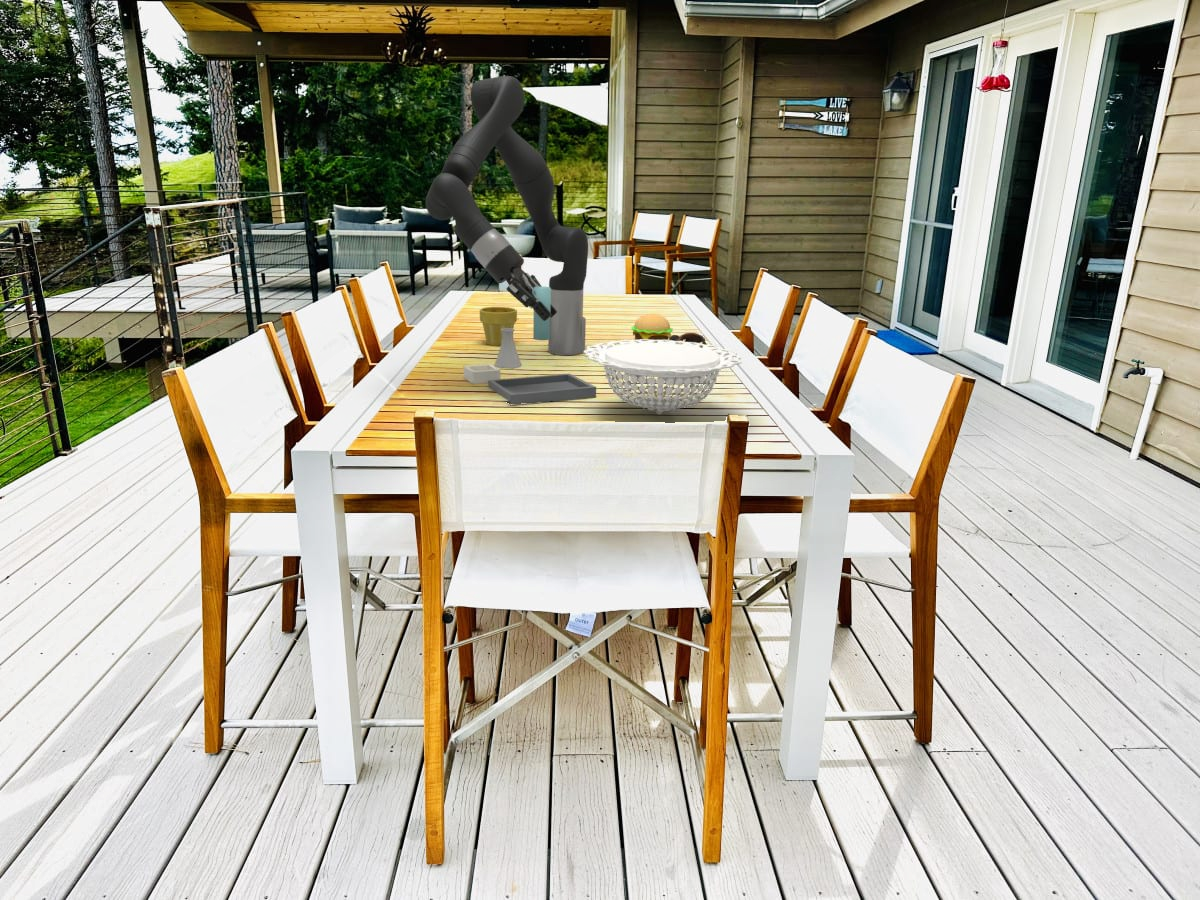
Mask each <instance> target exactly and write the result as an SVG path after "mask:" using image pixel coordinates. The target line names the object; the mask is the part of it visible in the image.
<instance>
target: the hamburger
mask: <svg viewBox="0 0 1200 900" xmlns="http://www.w3.org/2000/svg"><path fill="white" fill-rule="evenodd" d="M631 330H632V335H633V336H634V339H633V340H640V339H649V340H669V338H670V337H671V336H672V334H671V332H673V331H674V328H672V327H671V324H670V321H669V320H668V319H667V318H666V317H664V316H662V315H660V314H655V313H647V314H645V315H642V316H640V317H638V318H637V319H636V320H635V323H634V325H633V326H632V327H631ZM643 341H645V340H643ZM664 342H665V341H664ZM636 343H637V342H636ZM655 343H657V342H655Z"/></svg>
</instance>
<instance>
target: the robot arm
mask: <svg viewBox="0 0 1200 900" xmlns="http://www.w3.org/2000/svg"><path fill="white" fill-rule="evenodd" d="M470 100H471V101H470V102H471V105H472V108H473V111H474V113H475V115H476V117H477V119H478V122H476V124H474V125H473V126H472V127H471V128H470V129H469V130H467V131H466V132H465V133H464V134H463V135H461V136H460V138H459V139H458V140H457V141H456V142H455V144H454V146H453V147H452V149H451V151H450V153H449V154H448V157H447V158H446V160H445V162H444V165H443V168H442V170H441V171H440V172H441V173H440V174H438V175H437V176H435V178H434V179H433V181H432V183H431V185H430V188H429V190H428V192H427V195H426V197H425V208H426V210H427V212H428V214H429V215H430V216H431V217H432V218H434V219H436V220H438V221H445V220H449V219H451V218H453V219H454V221H455V222H454V223H455V233H456V235H457V237H458V238H459V239H460V241H462V242H463V244H464V245H465V246H466V247H467V248H468V249H469V250H470V252H471V253H472V254H473V256H474V257H475V259H476V260H477V261H478V263H479V264H480V265H481V266H482V267H483V268H484V269H485V271H487V273H488V274H489V275H490V276H491V277H492V278H493V279H494V280H495V281H496V282H497V284H502V283H505V282H506V283H507V284H508V286H507V287H506V290H507V292H508V293H510V294H511V296H513V297H514V298H515V299H516V300H517V301H518V302H519V303H521V304H522V305H523V306H524V307H525V308H528V307H529V309H532V310H533V312H534V311H535V312H536V313H537V314H538V315H539V316H540V317H541V319H542V320H543V321H546V320H547V319H548V318H549V317H550V340H547V342H548V344H547V346H548V347H547V348H548V350H547V352H549V354H554V355H559V356H572V355H573V356H575V355H580V354H585V353H584V350H586V323H587V320H586V317H585V316H584V314H583V313H584V288H585V287H584V285H585V280H586V278H587V277H586V276H587V273H588V272H587V270H588V269H587V267H588V256H589V240H588V235H587V233H586V231H585V230H584V229H582V228H580V227H575V226H574V227H572V226H562V225H561V224H560V223H559V222H558V220H557V218H556V215H555V213H554V211H553V199H554V193H555V183H554V181H555V180H554V178H553V176H552V174H551V171H550V169H549V167H548V164H547V163H546V161H545V159H544V157H543V156H542V154H541V153H539V151H538V150H537V149H536V148H534V146H532V145H531V144H530V143H528V142H527V141H526V140H525V139H524V138H522V137H521V136H520V134H518V133H517V132H516V131H515V130H514V128H513V127H512V125H513V123H514V122H515V121H516V120H517V119H518V117H520V116H521V113H522V112H523V110H524V107H525V102H526V101H525V100H526V99H525V90H524V88H523V85H522V84H521V82H520V81H519V80H518V79H517V78H516V77H515V76H511V75H510V76H509V75H501V76H496V77H490V78H485V79H484V78H483V79H480V80H477V81H475V82H474V83H473V84H472V86H471V88H470ZM494 147H495V148H496V150H497V152H498V153H499V155H500V157H501V160H502V161H503V163H504V165H505V167H506V169H507V171H508V174H509V175H510V177H511V180H512V183H513V184H514V186H515V189H516V190H517V192H518V193H519V196H520V197H521V200H522V201H523V204H524V206H525V208H526V210H527V212H528V214H529V215H528V216H530V219H531V222H532V224H533V225H534V228H535V231H536V234H537V237H538V241H539V242H540V246H541V248H542V250H543V252H544V254H545V256H546V257H547V258H548V259H549V260H551V261H553V262H557V263H563V267H562V271H560V272H559V273H558V274H555V275H553V276H551V277H549V281H548V287H550V288H551V307H550V311H549V310H548V309H547V308H546V307H545V306H544V304H543V303H542V302H541V301H540V300H539V298H538V297H537V296H536V295H535V290H534V287H543V286H542V285H541V282H539V280H538V279H537V278H536V277H537V276H536V275H534V274H531V275H530V274H529V273H528V272H525V271H524V270H523V269H522V266H523V265H524V262H525V259H524V258H523V257H522V255H521V254H520V253H519V252H518V251H517V250H516V248H515V247H514V246H513V245H512V244H511V243H510V242H509V241H508V240H507V238H505V236H504V235H503V234H501V232H499V231H498V230H497V229H496V228H495V226H494V225H493V224H491V222H490V221H489V220H488V219H487V217H485V216H484V215H483V213H482V212H481V210H480V208H479V205H478V204H477V202H476V200H475V198H474V196H473V194H472V193H471V191H470V190H469V187H470V185H471V184H472V183H473V182H474V180H475V179H476V177H477V175H478V174H479V171H480V169H481V168H482V165H483V164H484V162H485V160H486V159H487V157H488V155H489V154H490V152H491V151H492V149H493V148H494ZM539 301H540V302H539Z"/></svg>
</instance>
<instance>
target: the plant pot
mask: <svg viewBox="0 0 1200 900" xmlns="http://www.w3.org/2000/svg"><path fill="white" fill-rule="evenodd" d="M479 321H480V322H481V324H482V327H483V331H484V332H483V333H484V338H485V342H486V344H487V345H489V344H490V345H489V346H494V345H501V343H502V334H503V333H502V331H501V329H502V328H513V329H515V323H517V321H518V309H516V308H515V307H509V306H487V307H486V306H485V307H482V308H480V309H479Z"/></svg>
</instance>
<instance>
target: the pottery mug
mask: <svg viewBox="0 0 1200 900" xmlns="http://www.w3.org/2000/svg"><path fill="white" fill-rule="evenodd" d="M668 339H669V340H672V341H683V342H695V343H700V344H704V345H708V343H707V342H706V339H705V337H704V336H702V335H701V334H699V333H696V332H685V333H683V334H681V335H680V336H679V335H677V334H671V337H670V338H668ZM676 344H677V343H676ZM695 345H696V344H695ZM701 348H703V346H701Z"/></svg>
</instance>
